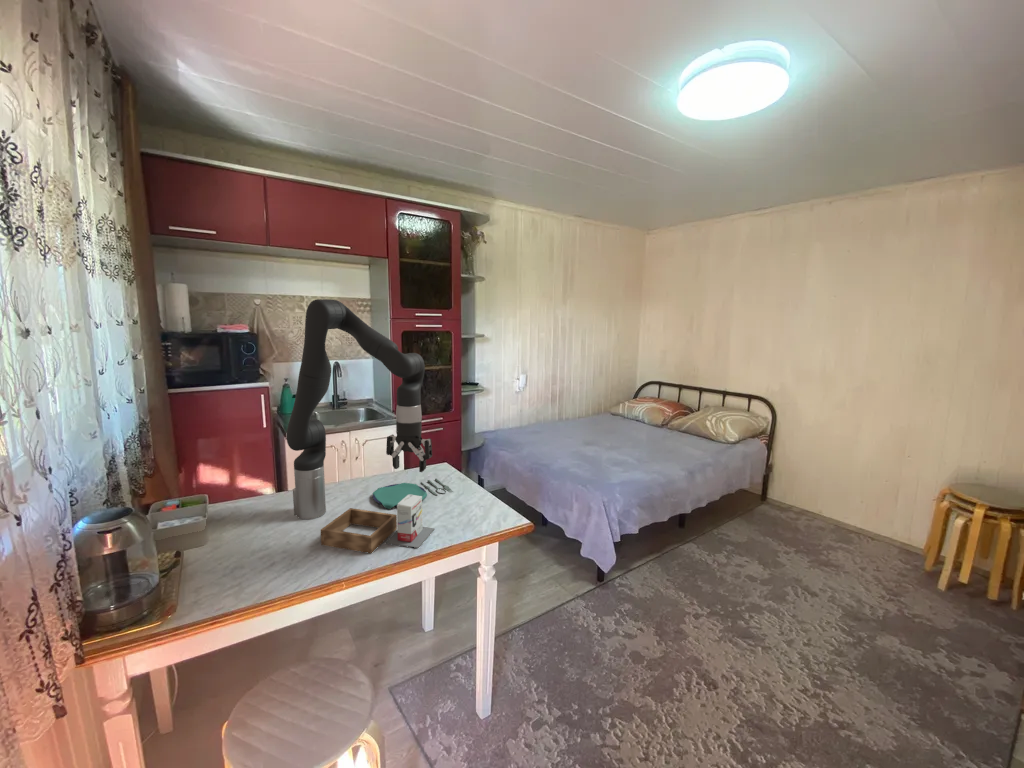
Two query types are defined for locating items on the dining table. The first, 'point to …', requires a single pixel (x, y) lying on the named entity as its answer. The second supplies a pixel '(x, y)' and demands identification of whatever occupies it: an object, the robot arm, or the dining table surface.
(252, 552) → the dining table surface
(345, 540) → the wooden tray
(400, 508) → the ink box
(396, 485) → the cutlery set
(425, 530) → the rubber mat
